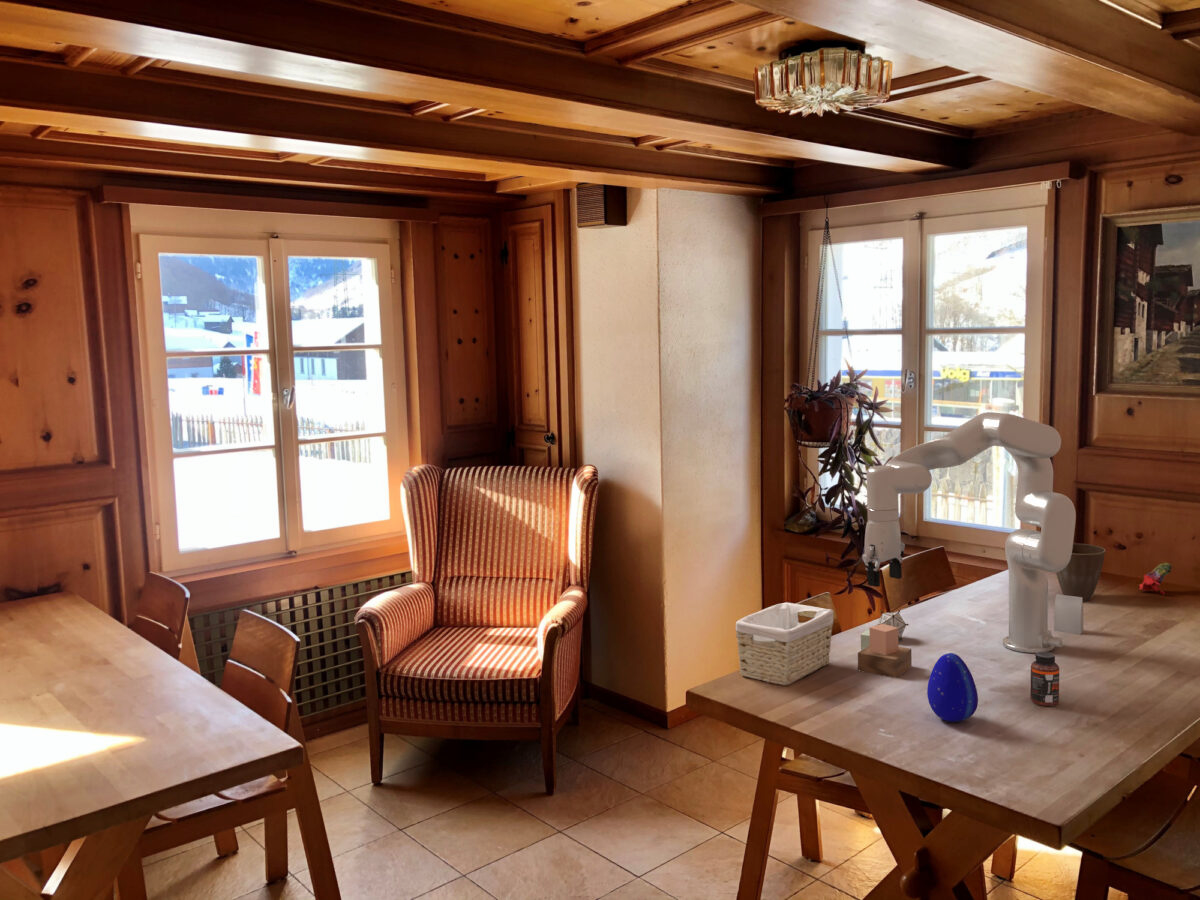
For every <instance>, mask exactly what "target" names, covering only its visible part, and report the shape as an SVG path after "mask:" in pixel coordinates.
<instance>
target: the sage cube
mask: <svg viewBox="0 0 1200 900" xmlns="http://www.w3.org/2000/svg"><path fill="white" fill-rule="evenodd" d="M869 645H870V629H866V630H865V631H863V632H862V633H861V634H860V651H862V650H863V649H865V648H866V647H868V646H869Z"/></svg>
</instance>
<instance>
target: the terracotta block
mask: <svg viewBox="0 0 1200 900" xmlns="http://www.w3.org/2000/svg"><path fill="white" fill-rule="evenodd" d="M869 630H870V651H873V652H877V653H880V654H884V655H888V654H891V653H894V652H897V651H899V649H898V647H899V638H898V628H897V627H893V626H889V625H885V624H880V625H878V624H877V626H875V625H874V626H869Z"/></svg>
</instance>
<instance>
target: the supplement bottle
mask: <svg viewBox="0 0 1200 900" xmlns="http://www.w3.org/2000/svg"><path fill="white" fill-rule="evenodd" d="M1055 661H1056V655H1055V654H1054V653H1052V652H1050V651H1048V652H1038V653H1035V660H1034V661H1033V662H1031V665H1030V694H1029V695H1030V701H1031V702H1032V703H1033V704H1035V705H1038V706H1042V707H1054V706H1057V705H1058V704H1059V702H1060V666H1059V665H1058V663H1056V662H1055Z"/></svg>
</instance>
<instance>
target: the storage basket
mask: <svg viewBox="0 0 1200 900" xmlns="http://www.w3.org/2000/svg"><path fill="white" fill-rule="evenodd" d="M799 616H801V617H807V618H811V619H810V620H808V621H805V622H800V621H799ZM833 624H834V611H833V609H831V608H822V607H817V606H812V605H805V604H799V603H793V602H783V603H777V604H775V605H771V606H769V607H766V608H764V609H761V610H759V611H757V612H754V613H751V614H748V615H746V616H744V617H742V618H740V619H738V620H737V621H736V622H735V631H736V641H737V647H738V648H737V652H738V663H739V669H740V670H739V673H740V675H741V676H744V677H746V678H751V679H756V680H758V681H764V682H765V681H766V682H765V683H772V684H774V685H775V684H776V685H777V684H778V685H781V686H788V685H790V684H793V683H794V682H796V681H798V680H799V679H802V678H803V677H805V676H808V675H809V674H812V673H814V672H816V671H817V670H819V669H821V668H822V667H825V666H826V665H828V664H829V662H830V652H831V645H832V643H831V641H832V632H833V630H832V629H833Z"/></svg>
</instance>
